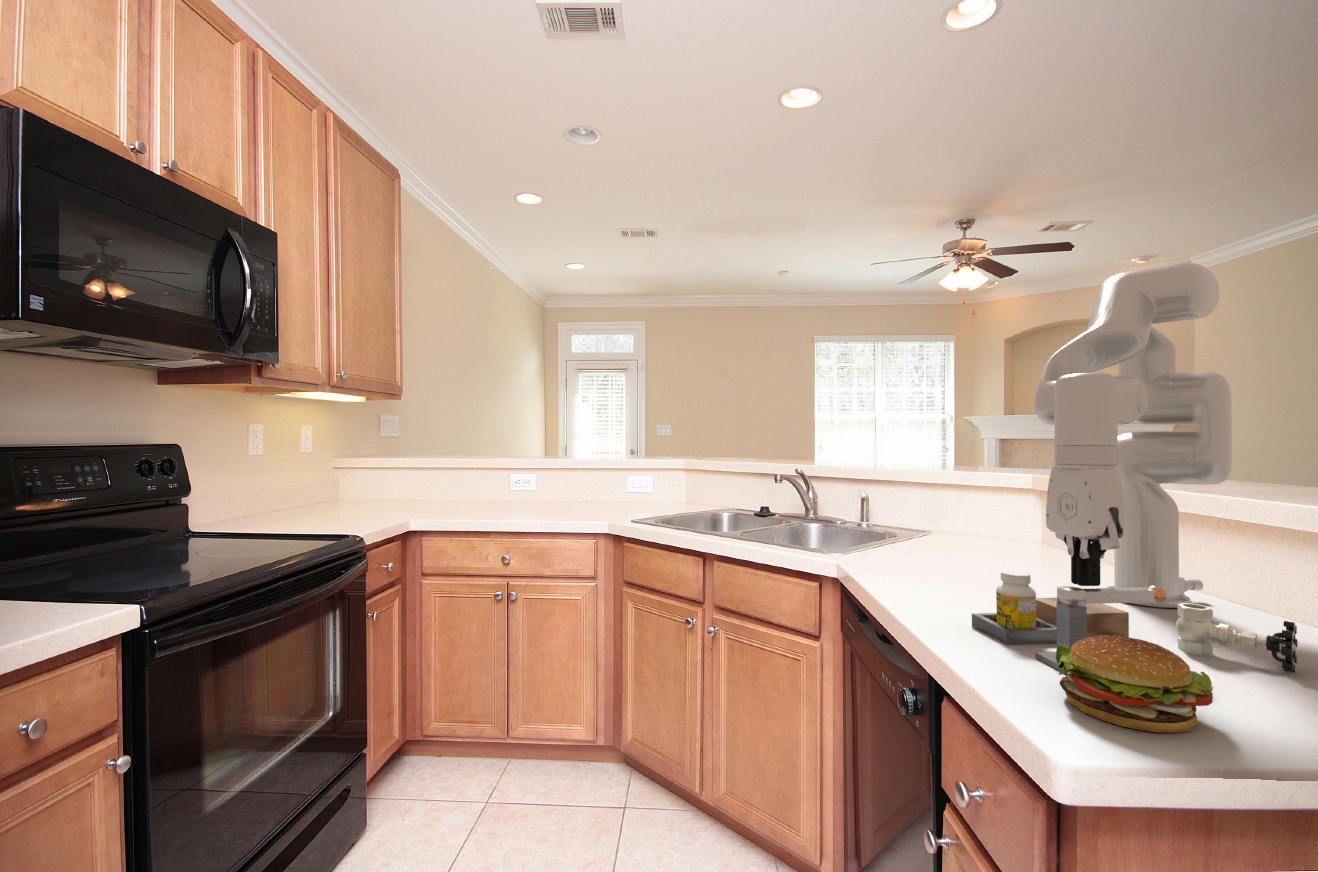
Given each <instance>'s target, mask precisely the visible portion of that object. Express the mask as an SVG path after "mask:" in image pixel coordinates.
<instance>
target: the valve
mask: <svg viewBox="0 0 1318 872" xmlns="http://www.w3.org/2000/svg"><path fill="white" fill-rule="evenodd" d="M1213 613H1214V612H1213V609H1212V608H1211V607H1209V606H1207V605H1204V604H1198V603H1192V602H1191V603H1181V604H1178V608H1177V616H1178V619H1177V621H1176V622H1175V629H1176V630H1175V631H1176V633H1177V635H1178V637H1177V649H1178V650H1180V652H1183V653H1184V654H1189V655H1194V656H1197V657H1209V656H1213V655H1214V644H1213V643H1212V642H1215V643H1218V645H1219V646H1223V647H1230V646H1231V644H1234V645H1235V644H1237V643H1241V644H1242V646H1246V647H1250V648H1257V646H1262V647H1263V646H1264V647H1266V650H1267V651H1270V654H1271V657H1272V658H1273V659H1274V660H1275V661H1277V662H1279V663H1281V668H1282V669H1283V671H1284V672H1288V673H1293V674H1294V673H1296V667H1297V666H1296V664H1297V663H1298V655H1297V653H1296V652H1297V651H1296V649H1297V648H1298V646H1299V642H1298V641H1299V639H1298V638H1296V635H1298V626H1297V625H1296V622H1294V621H1287V620H1284V621H1283V626H1282V627H1285V629H1282V630H1281V632H1275V633H1273V634H1272V635H1270V634H1269V635H1268V634H1267V635H1266V638H1265V637H1264V638H1262V637H1258V634H1257V633H1255V632H1249V631H1242V633H1240V632H1237V630H1236V629H1232V626H1231V625H1230V624H1226V623H1219V624H1214V623H1213V621H1214V619H1213V618H1214V617H1213V616H1214V615H1213ZM1278 654H1280V655H1281V656H1284V657H1280V655H1278Z"/></svg>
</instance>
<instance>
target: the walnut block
mask: <svg viewBox="0 0 1318 872" xmlns="http://www.w3.org/2000/svg"><path fill="white" fill-rule="evenodd" d="M1056 602H1057V597H1036V617H1037V618H1039V619H1041V620H1044V621H1046V622H1048V623H1051V624H1053V625H1055V626H1057V616H1056ZM1085 607H1087V637H1093V636H1101V635H1109V636H1122V637H1128V638H1130V632H1129V631H1130V628H1129V627H1130V626H1129V625H1130V624H1129V623H1130V619H1129V618H1130V617H1129V616H1130V614H1129V612H1128V611H1126V610H1122V609H1120V608H1117V607H1114V606H1110V605H1108V604H1106V603H1101V604H1086V606H1085Z"/></svg>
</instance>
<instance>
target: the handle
mask: <svg viewBox="0 0 1318 872" xmlns="http://www.w3.org/2000/svg"><path fill="white" fill-rule="evenodd" d="M1056 598H1057V603H1058V604H1061V605H1064V606H1070V607H1085V606H1086V604H1101V603H1102V604H1132V603H1142V602H1151V603H1155V604H1160V603H1163V602H1164V601H1165V600H1166V598H1167V594H1166V592H1165V590H1164V589H1162V588H1161V587H1159V586H1149V587H1140V588H1106V587H1105V588H1104V587H1103V588H1101V587H1098V588H1082V587H1075V586H1066V585H1062V586H1057V587H1056Z"/></svg>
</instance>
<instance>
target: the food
mask: <svg viewBox="0 0 1318 872" xmlns="http://www.w3.org/2000/svg"><path fill="white" fill-rule="evenodd" d="M1055 652H1056V661H1057V663H1058V667H1059V668H1060V669H1061V668H1062V667H1064V669H1063V670H1061V671H1059V670H1058V676H1062V675H1066V674H1065V673H1067V674H1068V675H1066V676H1063V677H1061V679H1060V681H1059V685H1060V687H1061V689H1062V690H1063V691H1064V692H1065V695H1066V697H1067V700H1068V702H1069V703H1070V704H1071V705H1073V706H1074V707H1076V708H1077V709H1078V710H1080V711H1081V712H1082V713H1084V714H1087V715H1088V716H1091V717H1094V718H1097V719H1099V720H1102V721H1105V722H1108V723H1111V724H1114V725H1118V726H1120V727H1125V728H1129V729H1134V730H1140V731H1144V732H1145V731H1146V732H1151V733H1180V732H1181V733H1182V732H1189V731H1191V730H1192V729H1193V728H1194V727H1195V726H1196V725H1197V724H1198V717H1197V714H1196V713H1197V707H1203V706H1204V707H1207V706H1209V705H1211V704H1213V701H1214V699H1213V695H1214V694H1213V689H1214V688H1215V687H1214V686H1213V685H1212V684H1213V682H1212V680H1211V679H1210V676H1209V675H1208V674H1207V673H1206V672H1204V671H1200V673H1198V672H1196V671H1195V670H1191V668H1190V665H1189V664H1188V663H1187V662H1186V661H1185V660H1184V659H1183V658H1182V657H1181V656H1179V655H1178V654H1176V653H1174V652H1173V651H1171V650H1170V649H1167V648H1166V647H1163V646H1161V645H1160V644H1157V643H1154V642H1150V641H1147V640H1144V639H1140V638H1133V637H1129V638H1128V637H1122V636H1109V635H1101V636H1093V637H1087V638H1084V639H1081V640H1079V641H1078V642H1076V643H1074V644H1073V645H1072V647H1071V649H1070V648H1068V647H1066V646H1059V647H1058V648H1057V647H1056V651H1055Z"/></svg>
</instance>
